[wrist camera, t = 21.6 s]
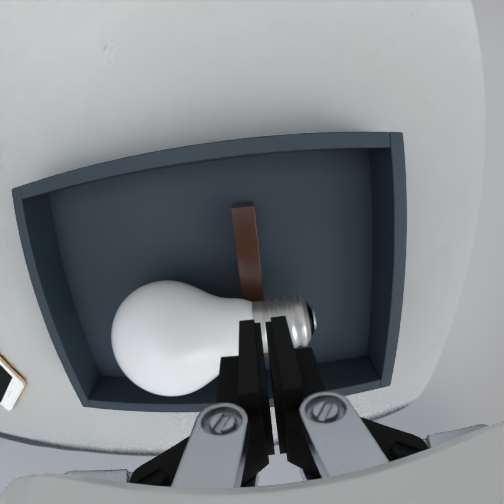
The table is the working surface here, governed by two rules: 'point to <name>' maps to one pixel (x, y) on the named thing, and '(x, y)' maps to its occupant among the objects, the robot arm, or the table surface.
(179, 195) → the tray
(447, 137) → the table surface
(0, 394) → the cell phone
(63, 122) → the table surface
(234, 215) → the strip
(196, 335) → the lightbulb
